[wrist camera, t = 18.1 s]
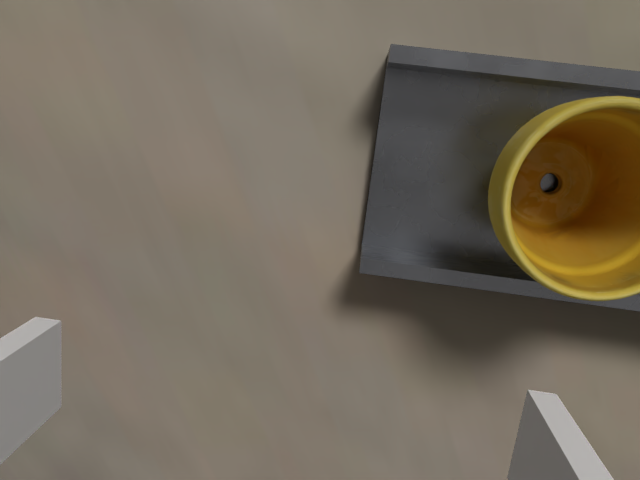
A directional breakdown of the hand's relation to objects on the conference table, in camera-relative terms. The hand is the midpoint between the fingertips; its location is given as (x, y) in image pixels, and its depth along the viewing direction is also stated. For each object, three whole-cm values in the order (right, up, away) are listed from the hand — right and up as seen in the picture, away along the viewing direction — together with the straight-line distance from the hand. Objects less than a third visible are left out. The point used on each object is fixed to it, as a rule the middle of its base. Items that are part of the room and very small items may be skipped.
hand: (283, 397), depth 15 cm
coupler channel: (+17, +9, +22) cm, 29 cm away
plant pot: (+16, +8, +21) cm, 28 cm away
